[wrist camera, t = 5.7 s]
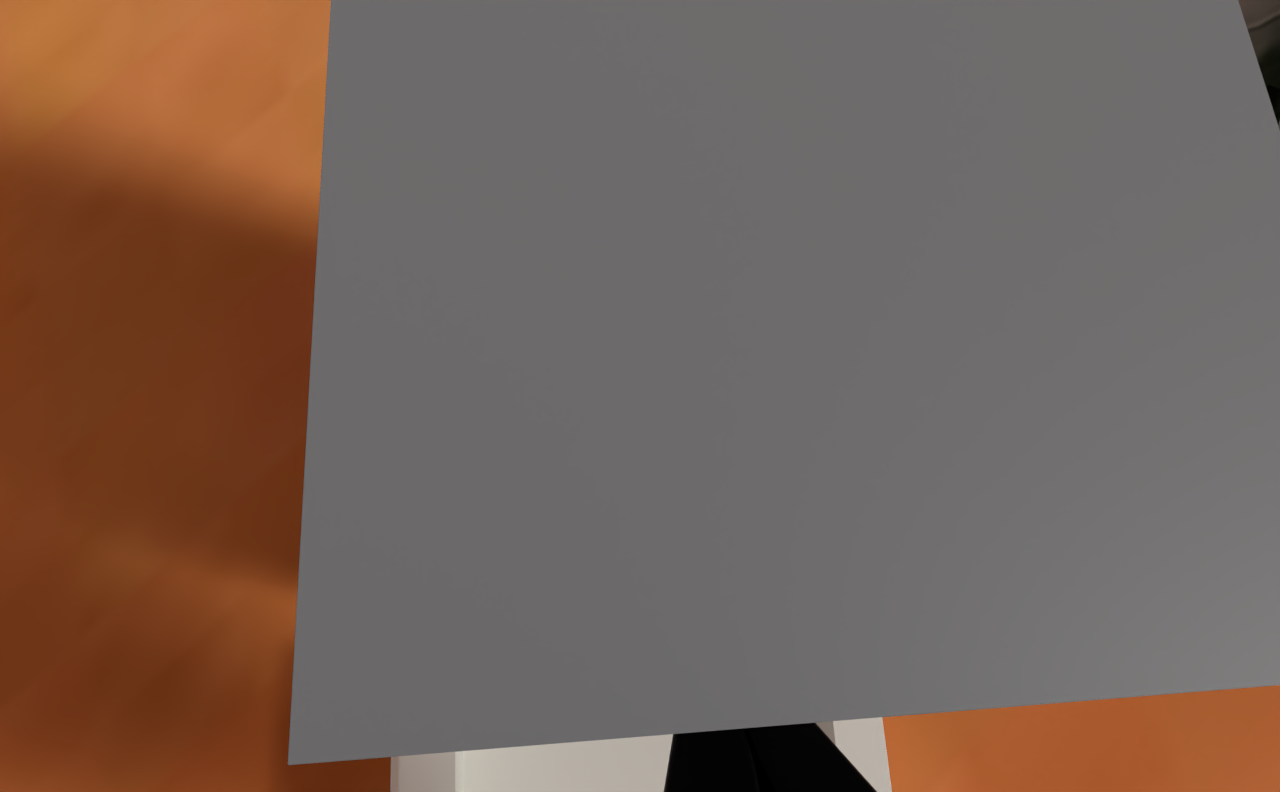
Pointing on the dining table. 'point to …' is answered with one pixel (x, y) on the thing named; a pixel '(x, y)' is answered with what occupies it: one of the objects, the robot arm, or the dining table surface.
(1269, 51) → the rose bouquet
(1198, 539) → the gray block
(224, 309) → the dining table surface
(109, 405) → the dining table surface
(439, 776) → the off-white chute
